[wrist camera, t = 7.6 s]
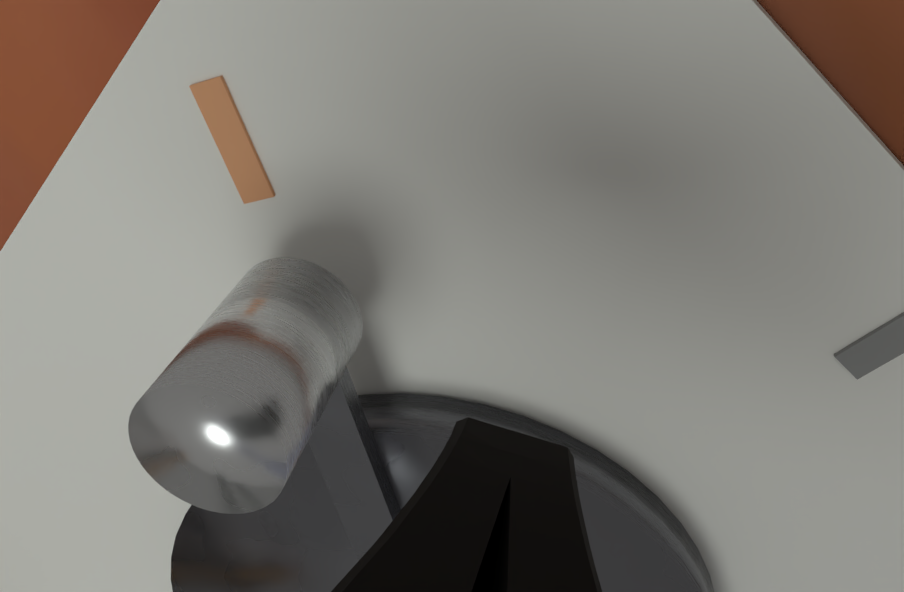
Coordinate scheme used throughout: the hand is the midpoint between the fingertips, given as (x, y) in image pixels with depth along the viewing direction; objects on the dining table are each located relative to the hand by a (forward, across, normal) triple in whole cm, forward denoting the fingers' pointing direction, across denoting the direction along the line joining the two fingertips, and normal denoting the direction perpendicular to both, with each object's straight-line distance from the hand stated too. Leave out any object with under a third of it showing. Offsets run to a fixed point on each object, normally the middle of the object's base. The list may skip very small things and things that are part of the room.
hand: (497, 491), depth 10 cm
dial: (+7, +1, +9) cm, 12 cm away
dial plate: (+8, 0, +10) cm, 13 cm away
